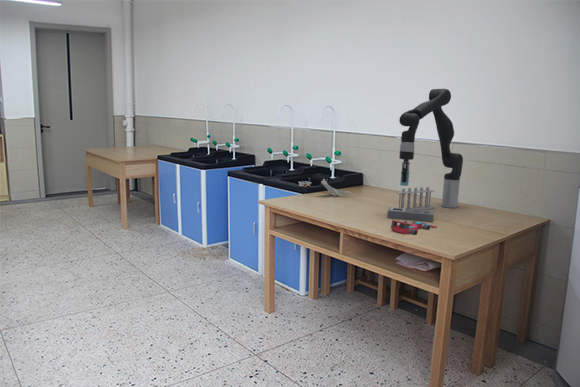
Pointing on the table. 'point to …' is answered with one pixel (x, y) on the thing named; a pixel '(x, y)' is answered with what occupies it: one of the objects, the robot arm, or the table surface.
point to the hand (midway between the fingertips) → (404, 181)
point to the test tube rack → (415, 198)
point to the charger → (406, 179)
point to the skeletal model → (334, 190)
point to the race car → (409, 227)
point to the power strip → (410, 214)
